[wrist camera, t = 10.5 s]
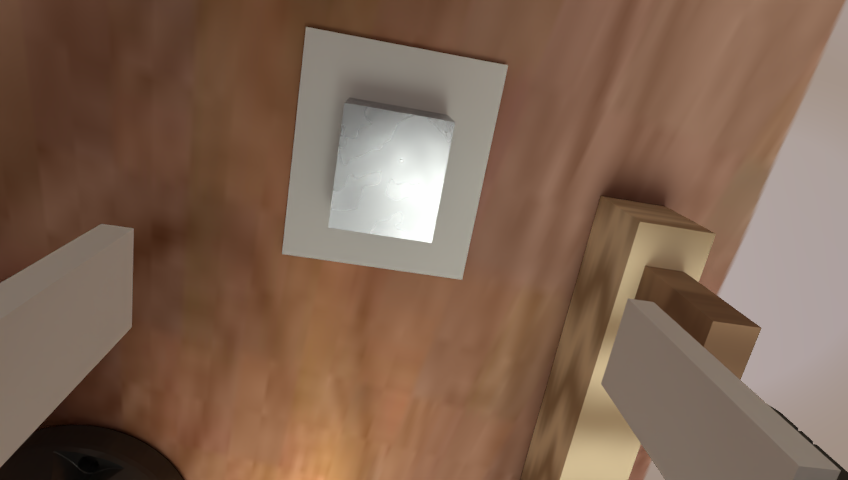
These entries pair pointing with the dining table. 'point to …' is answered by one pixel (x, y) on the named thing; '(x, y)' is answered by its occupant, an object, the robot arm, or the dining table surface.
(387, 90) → the mat
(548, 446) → the wooden peg base
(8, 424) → the robot arm
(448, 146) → the lever cap
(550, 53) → the dining table surface
